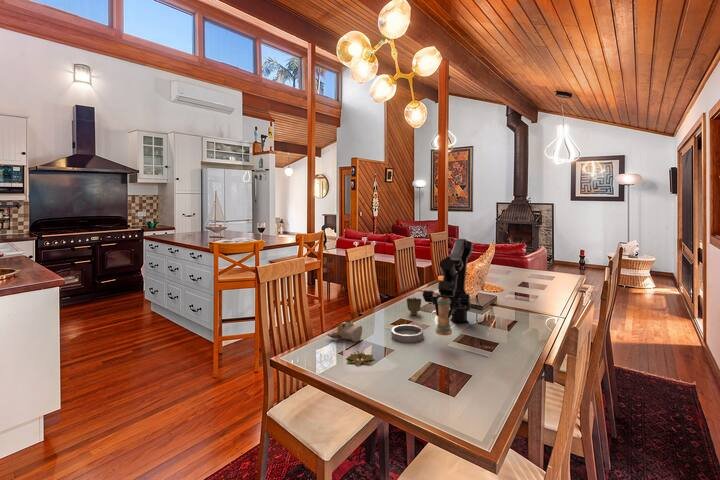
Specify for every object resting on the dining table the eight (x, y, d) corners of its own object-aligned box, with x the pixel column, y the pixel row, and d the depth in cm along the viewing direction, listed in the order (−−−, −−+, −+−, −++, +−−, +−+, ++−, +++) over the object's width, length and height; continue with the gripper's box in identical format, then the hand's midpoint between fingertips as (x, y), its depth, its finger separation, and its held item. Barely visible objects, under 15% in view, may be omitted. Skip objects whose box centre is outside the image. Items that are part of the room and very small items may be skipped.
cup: (420, 317, 192) (420, 301, 191) (406, 316, 193) (406, 301, 192) (421, 312, 199) (421, 297, 198) (407, 311, 201) (407, 297, 200)
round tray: (413, 329, 175) (413, 323, 174) (429, 339, 162) (429, 333, 162) (386, 333, 170) (386, 327, 170) (400, 344, 158) (400, 337, 157)
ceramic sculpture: (354, 325, 156) (325, 321, 164) (355, 346, 156) (326, 341, 164) (368, 318, 165) (339, 315, 173) (369, 338, 165) (340, 334, 173)
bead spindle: (448, 329, 158) (448, 295, 156) (454, 334, 152) (454, 300, 150) (433, 330, 157) (433, 296, 155) (439, 335, 151) (439, 301, 149)
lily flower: (341, 367, 139) (340, 355, 139) (347, 353, 151) (347, 342, 151) (373, 369, 137) (373, 356, 137) (377, 355, 149) (377, 343, 149)
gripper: (423, 271, 159) (415, 304, 150) (470, 274, 151) (464, 309, 142) (428, 285, 167) (421, 317, 158) (472, 289, 159) (467, 323, 150)
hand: (442, 316), depth 152 cm, fingers closed on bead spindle, 4 cm apart
